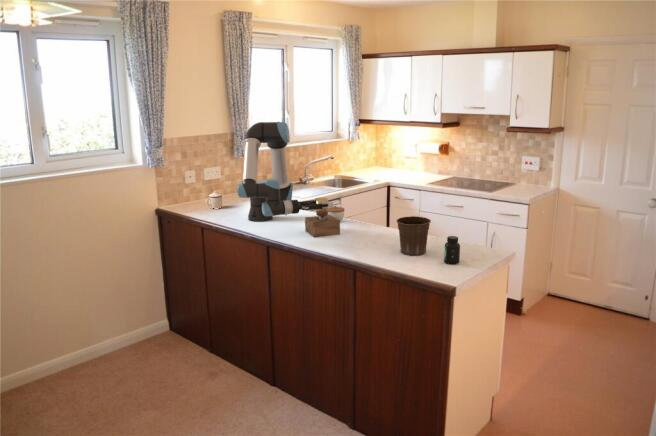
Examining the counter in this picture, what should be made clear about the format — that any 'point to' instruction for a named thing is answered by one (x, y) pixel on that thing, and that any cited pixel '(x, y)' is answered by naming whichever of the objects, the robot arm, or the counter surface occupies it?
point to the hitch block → (322, 226)
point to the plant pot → (413, 234)
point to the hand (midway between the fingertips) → (330, 203)
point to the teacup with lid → (215, 200)
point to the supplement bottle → (452, 251)
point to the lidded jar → (336, 212)
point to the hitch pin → (324, 211)
